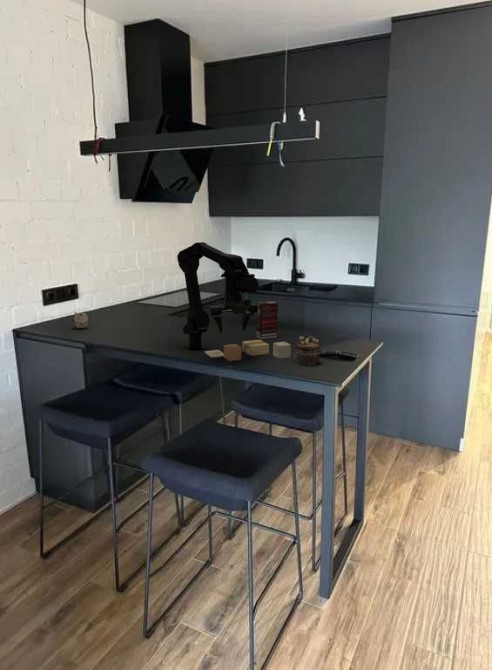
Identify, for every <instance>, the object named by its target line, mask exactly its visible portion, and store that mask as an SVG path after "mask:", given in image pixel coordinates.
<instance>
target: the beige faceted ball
mask: <svg viewBox="0 0 492 670" xmlns="http://www.w3.org/2000/svg"><path fill="white" fill-rule="evenodd" d="M87 312H88V311H85V312H76V311H75V312H74V314H75V315H74V317H73V319H72V320H71V322H72V323H73V324H74V326H75V327H76V329H75V330H78V329H87V330H88V329H89V328H88V326H89V323H90V322H91V318H89V316H88V314H87Z"/></svg>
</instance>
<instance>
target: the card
mask: <svg viewBox="0 0 492 670" xmlns="http://www.w3.org/2000/svg"><path fill="white" fill-rule="evenodd" d="M203 353H204V354H206V355H207V356H208V357H210V358H220V357H224V352H223V351H221V350H220V349H215V350H205V351H204V352H203Z"/></svg>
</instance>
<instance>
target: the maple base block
mask: <svg viewBox="0 0 492 670" xmlns="http://www.w3.org/2000/svg"><path fill="white" fill-rule="evenodd" d="M241 343H242V344H241V352H243V353H245V352H246V353H245V354H246V355H248V354H249V355H248V356H250V355H252V356H260V355H267V354H268V355H269V354H270V352H269V351H270V344H269V343H267V342H265V341H263V339H253V340H243V341H242V342H241Z"/></svg>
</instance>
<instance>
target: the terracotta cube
mask: <svg viewBox="0 0 492 670" xmlns="http://www.w3.org/2000/svg"><path fill="white" fill-rule="evenodd" d="M223 353H224V356H223V359H225V360H226V359H227V361H228V362H232V361H233V360H234V361H242V346H240V345H238V344H237V343H233V344H230V343H229V344H223Z"/></svg>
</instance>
